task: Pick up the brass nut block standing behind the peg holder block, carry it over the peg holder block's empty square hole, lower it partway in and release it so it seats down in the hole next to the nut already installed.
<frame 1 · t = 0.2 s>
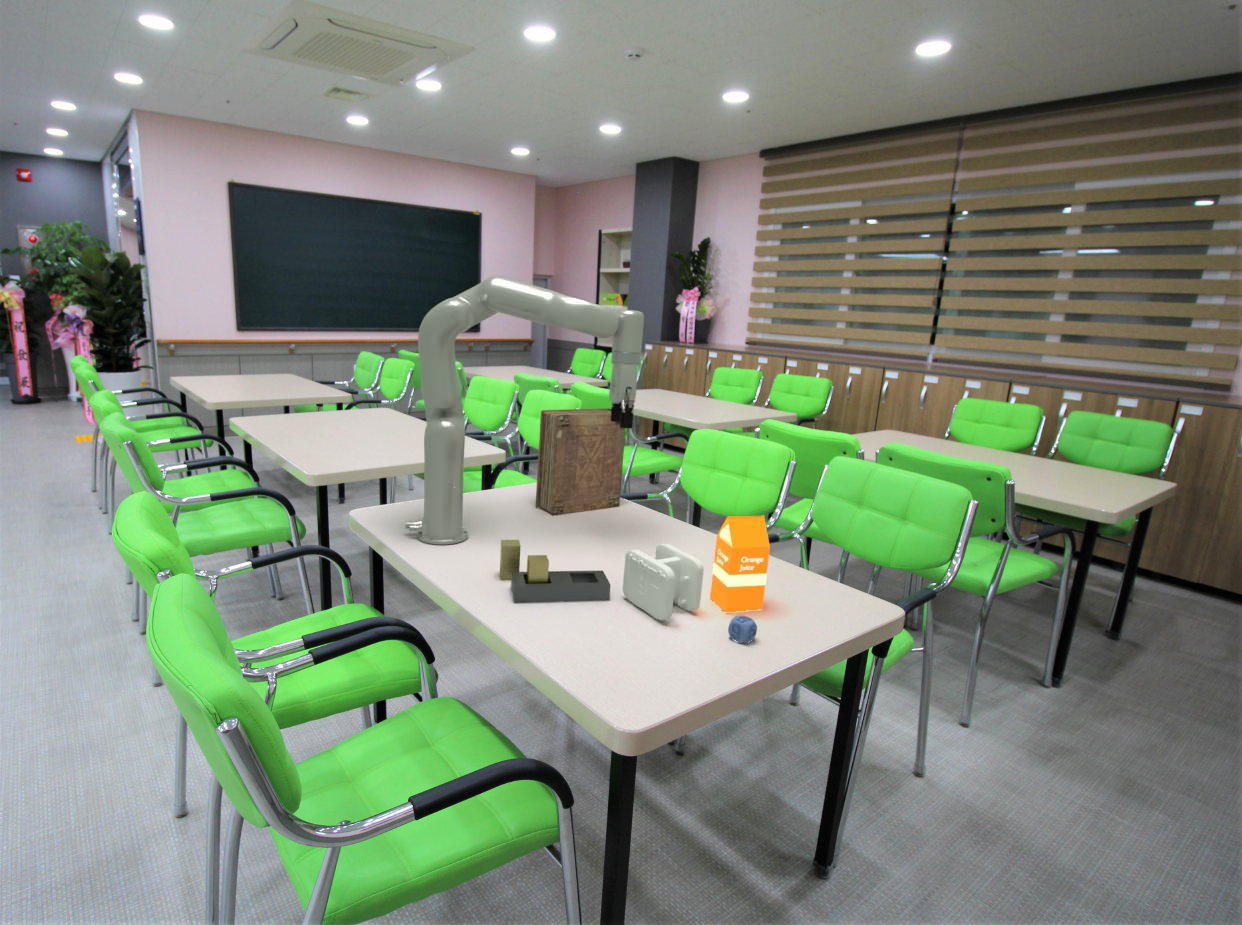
hand: (621, 424, 177), 31 cm above the table, tool pointing down, fingers open, 9 cm apart
book: (578, 507, 209), on the table
orange juice: (735, 605, 145), on the table
peg holder block: (559, 593, 144), on the table
decorative dice: (741, 639, 130), on the table
cable organizer: (659, 608, 141), on the table
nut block: (509, 576, 151), on the table
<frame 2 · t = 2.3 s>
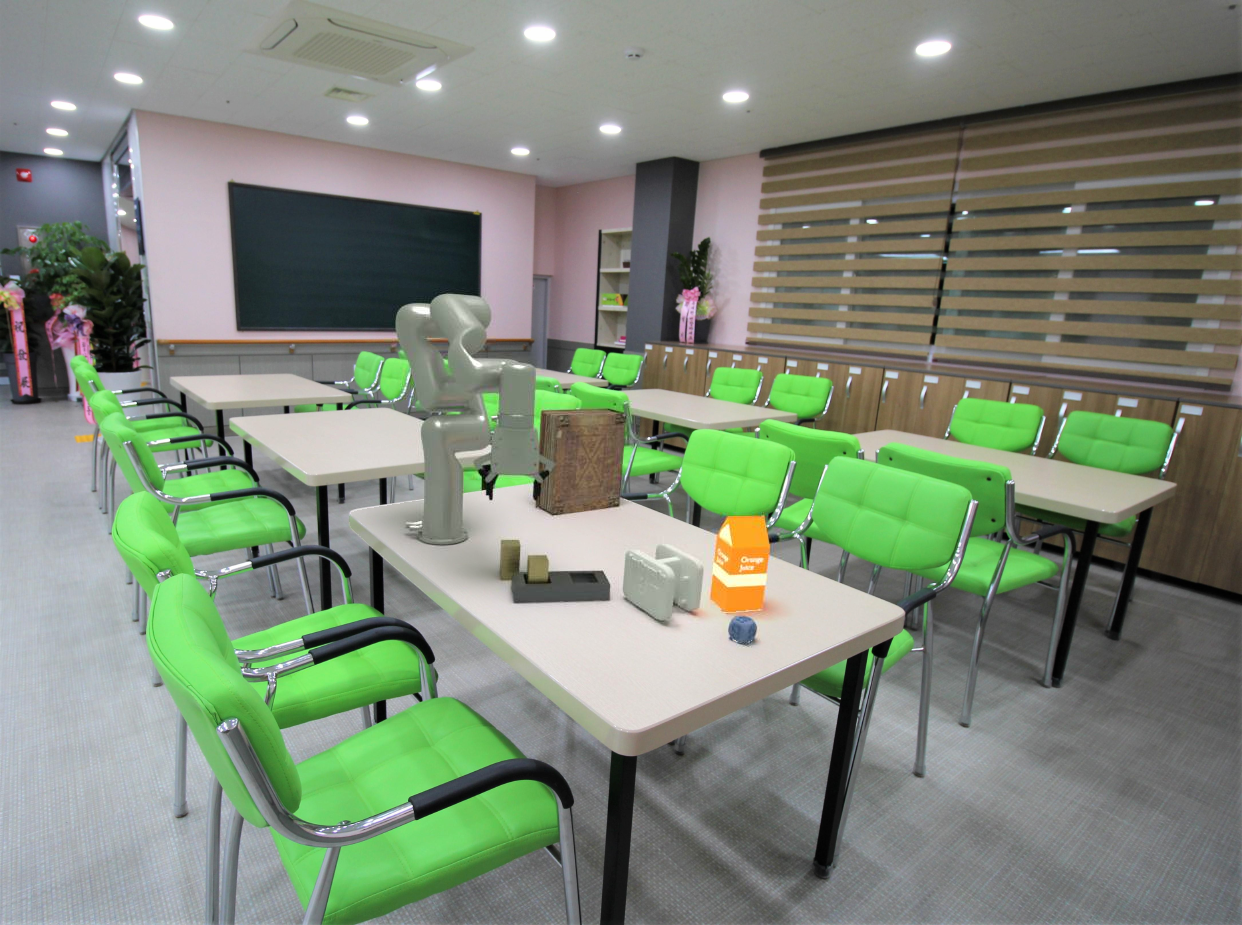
hand: (513, 498, 147), 18 cm above the table, tool pointing down, fingers open, 9 cm apart
nothing on the table moved.
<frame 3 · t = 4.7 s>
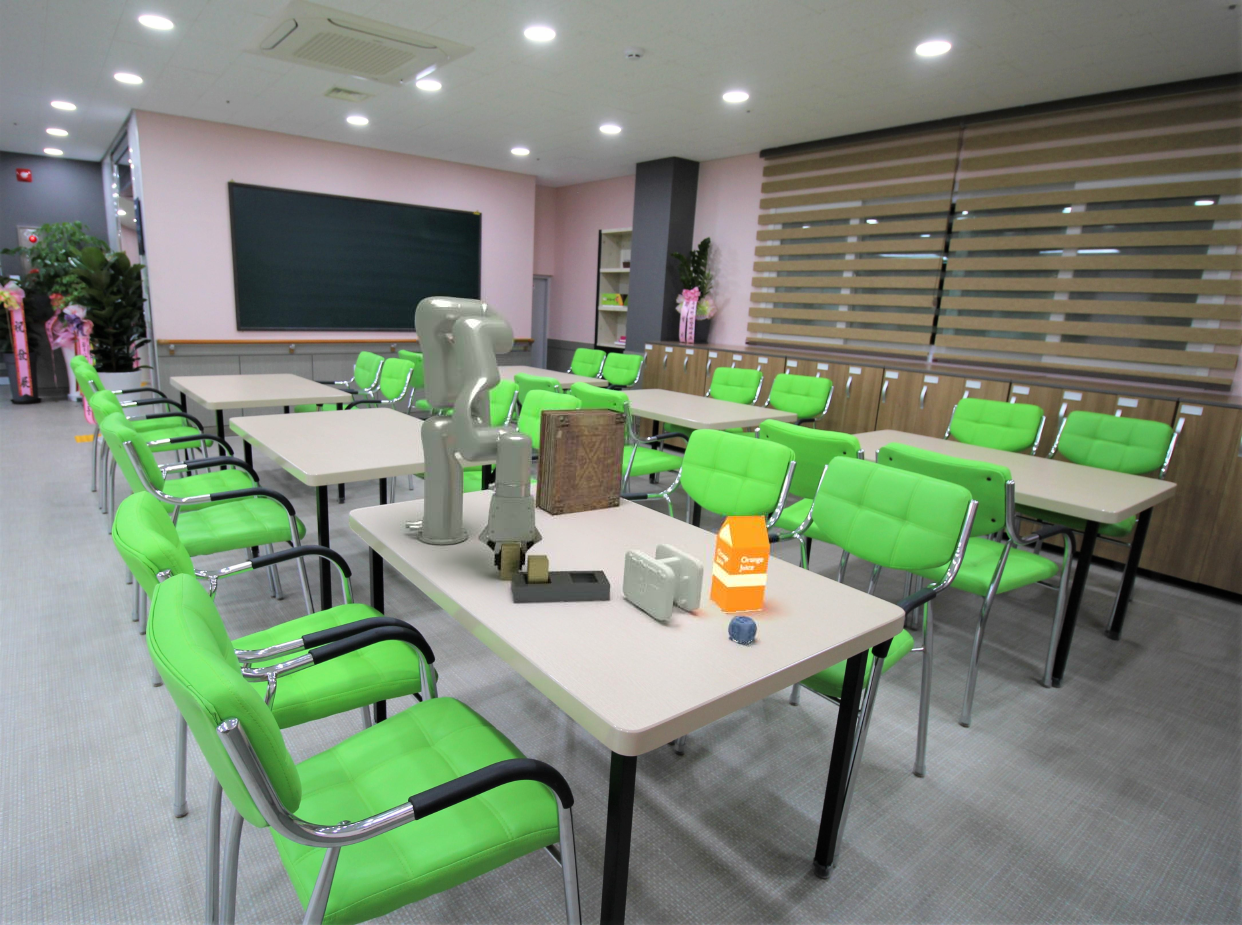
hand: (509, 567, 151), 2 cm above the table, tool pointing down, fingers closed on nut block, 4 cm apart
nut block: (509, 576, 151), on the table, touching gripper
everything else where it was.
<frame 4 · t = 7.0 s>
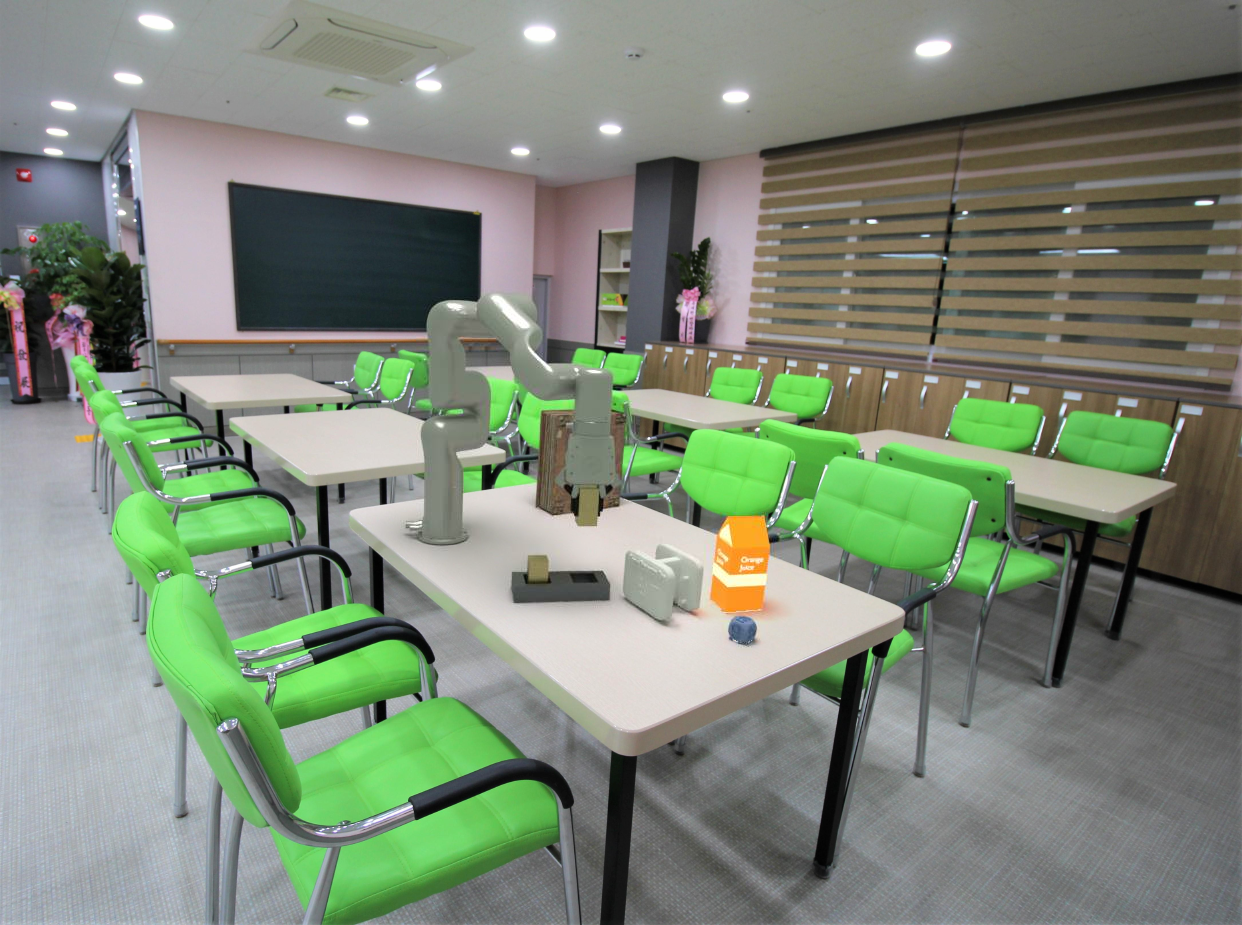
hand: (586, 513, 141), 18 cm above the table, tool pointing down, fingers closed on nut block, 4 cm apart
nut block: (585, 523, 142), point 16 cm above the table, touching gripper
everything else where it was.
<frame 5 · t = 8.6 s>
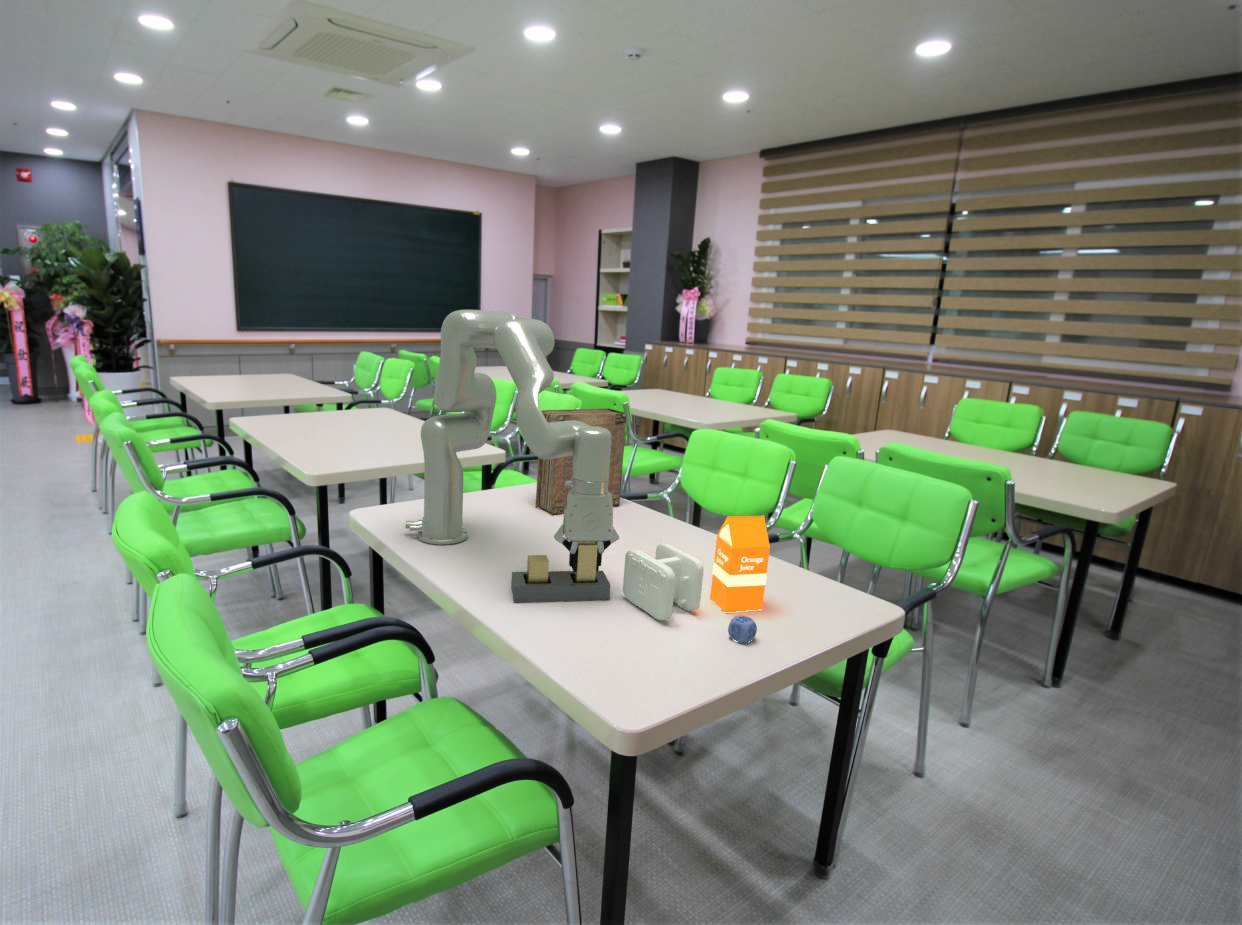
hand: (584, 568, 144), 6 cm above the table, tool pointing down, fingers closed on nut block, 4 cm apart
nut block: (584, 577, 144), point 4 cm above the table, touching gripper
everything else where it was.
when the fingers open (4 cm above the table, at t = 9.5 s): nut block drops 2 cm, resting in peg holder block.
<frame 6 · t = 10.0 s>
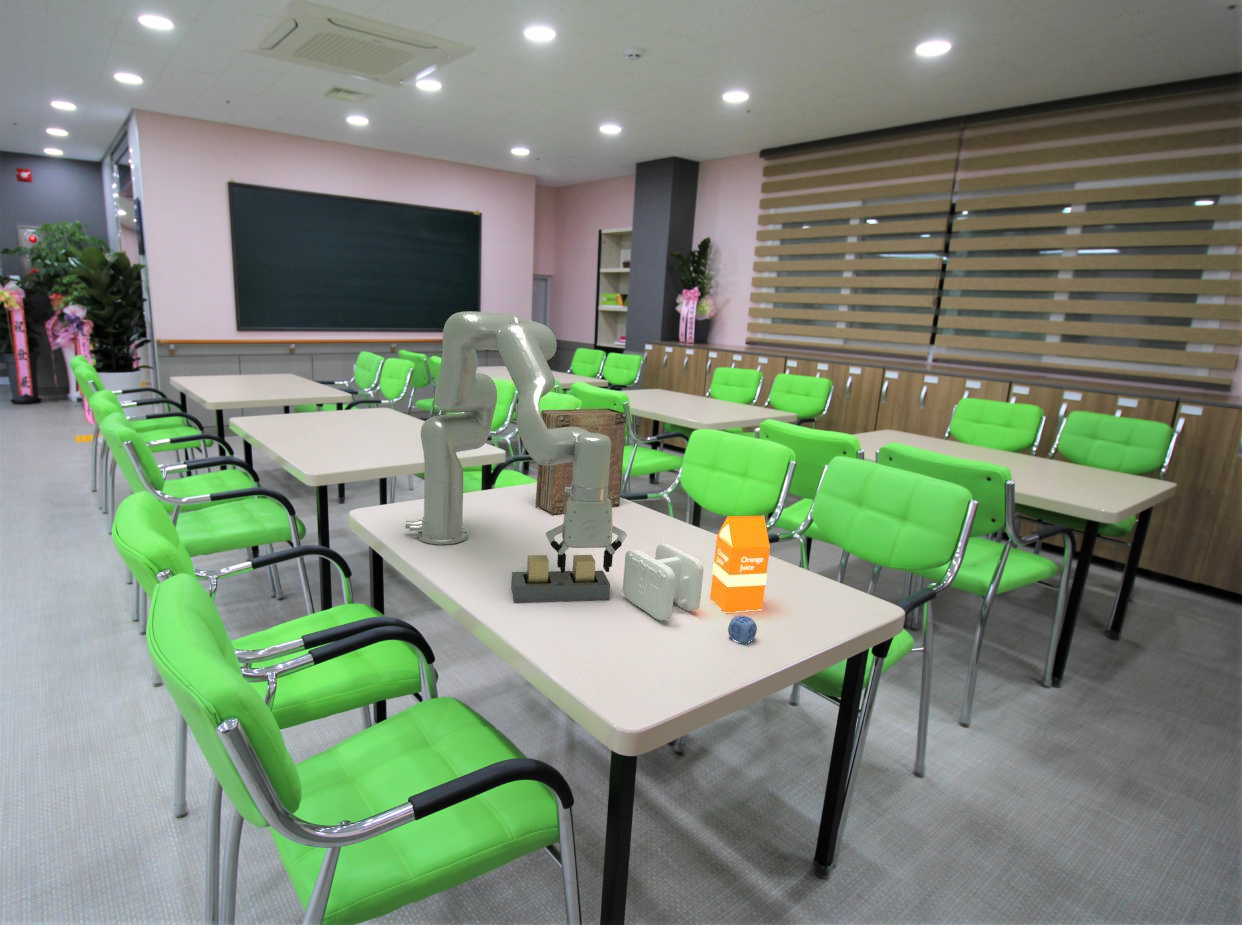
hand: (584, 570, 144), 5 cm above the table, tool pointing down, fingers open, 9 cm apart
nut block: (582, 593, 145), resting in peg holder block
everything else where it was.
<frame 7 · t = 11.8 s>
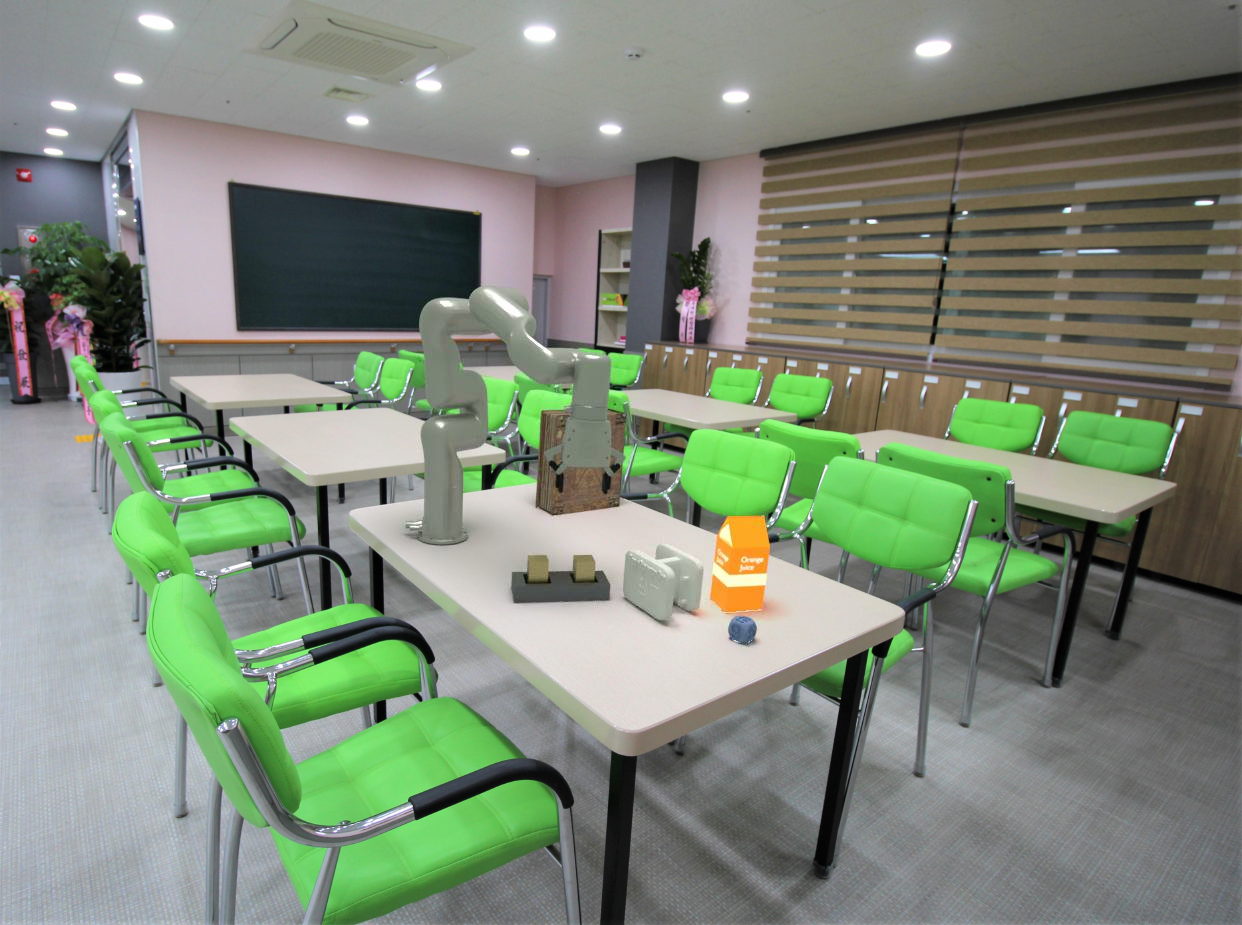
hand: (582, 491, 144), 21 cm above the table, tool pointing down, fingers open, 9 cm apart
nothing on the table moved.
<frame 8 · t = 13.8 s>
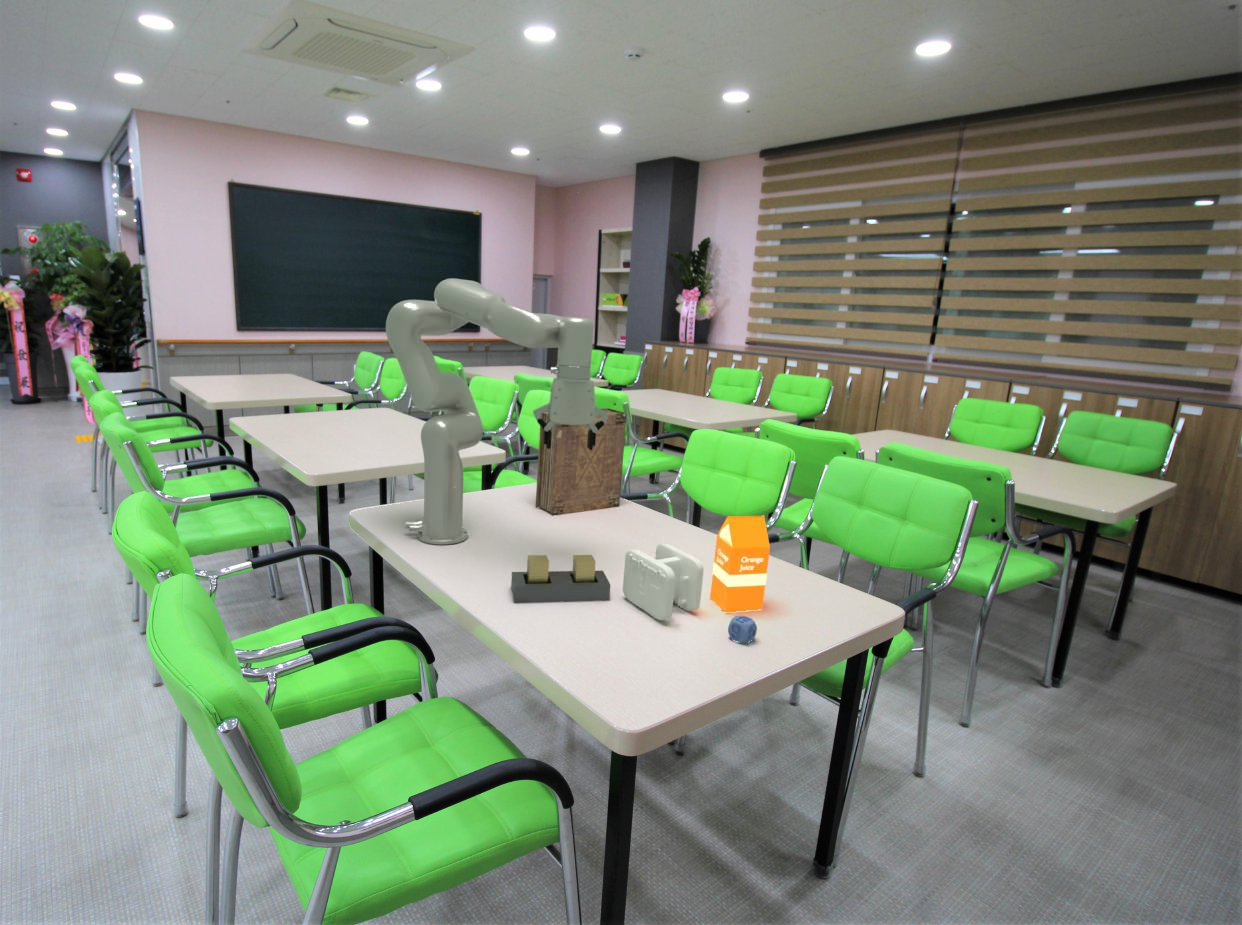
hand: (569, 448, 155), 28 cm above the table, tool pointing down, fingers open, 9 cm apart
nothing on the table moved.
at the end: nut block 0.2 cm from the target spot on the peg holder block, point 0.0 cm above the peg holder block's base; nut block tilted 0°; the gripper is holding nothing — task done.
